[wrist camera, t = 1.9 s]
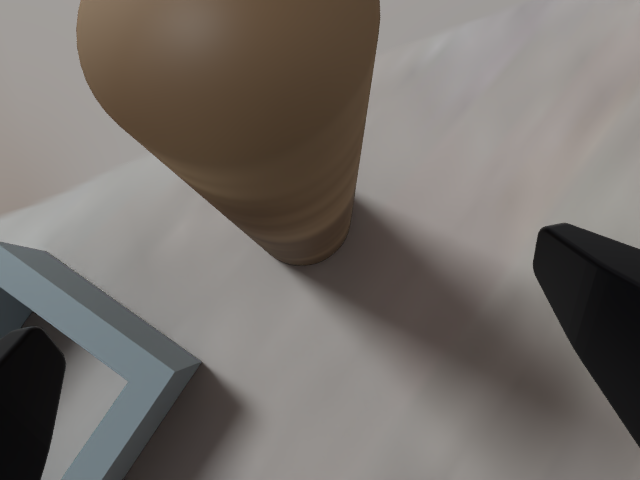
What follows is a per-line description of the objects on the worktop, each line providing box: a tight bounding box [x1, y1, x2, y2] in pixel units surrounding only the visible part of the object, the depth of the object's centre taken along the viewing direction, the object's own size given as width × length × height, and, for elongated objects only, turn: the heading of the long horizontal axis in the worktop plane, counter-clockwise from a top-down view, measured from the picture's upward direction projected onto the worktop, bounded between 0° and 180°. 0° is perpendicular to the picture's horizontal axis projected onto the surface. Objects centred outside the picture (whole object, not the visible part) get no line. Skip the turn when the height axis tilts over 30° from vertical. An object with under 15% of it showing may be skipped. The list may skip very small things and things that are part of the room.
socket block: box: [0, 242, 201, 480], centre depth 16 cm, size 9×9×3 cm
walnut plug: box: [76, 0, 380, 266], centre depth 12 cm, size 4×4×13 cm
